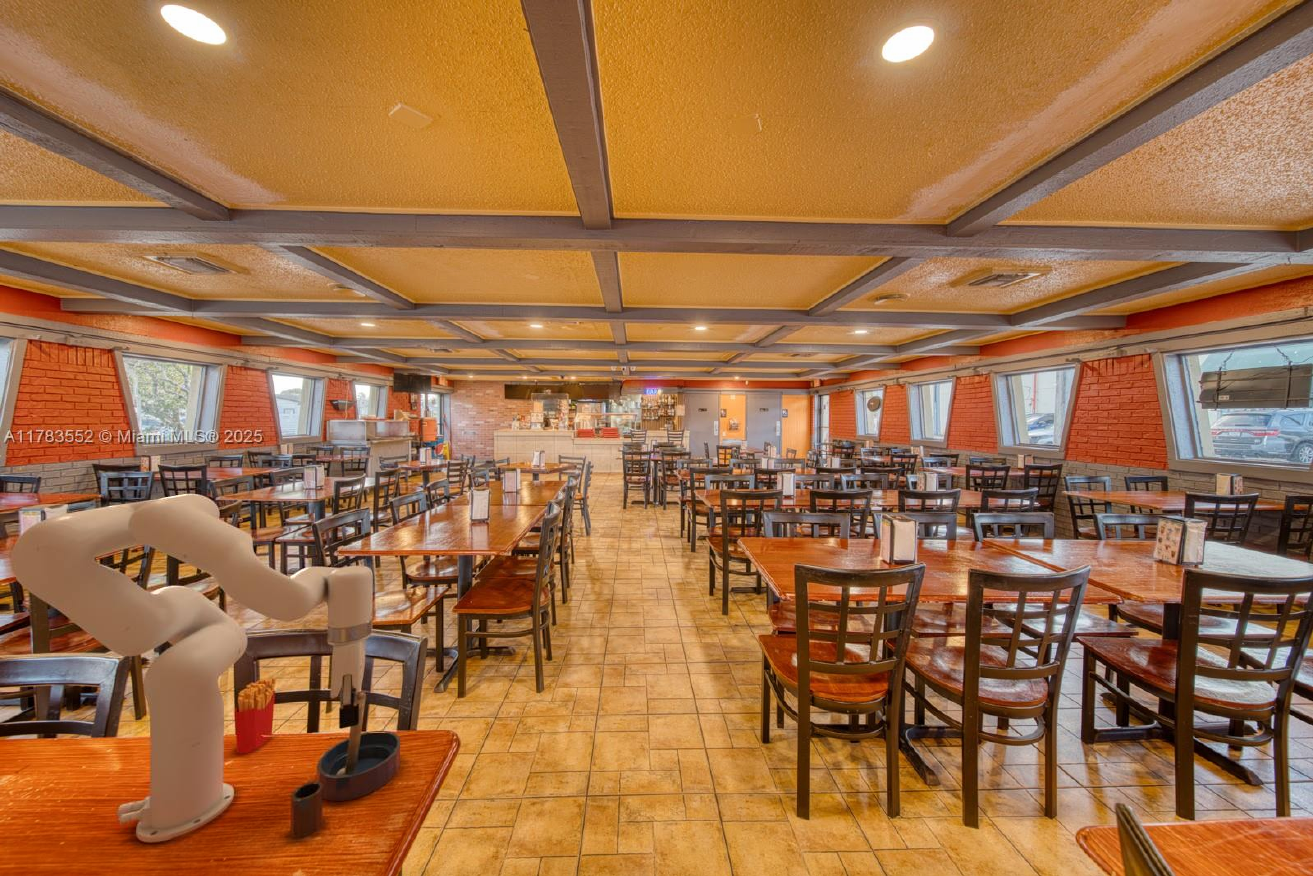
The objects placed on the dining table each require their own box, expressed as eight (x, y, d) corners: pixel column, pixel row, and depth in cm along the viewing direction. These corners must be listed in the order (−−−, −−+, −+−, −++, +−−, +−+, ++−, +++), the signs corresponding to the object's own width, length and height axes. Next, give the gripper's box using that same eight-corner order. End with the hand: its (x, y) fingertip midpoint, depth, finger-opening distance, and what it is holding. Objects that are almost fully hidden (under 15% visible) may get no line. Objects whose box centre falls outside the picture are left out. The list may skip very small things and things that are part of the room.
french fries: (248, 756, 101) (249, 696, 101) (228, 756, 101) (229, 696, 101) (280, 730, 110) (281, 674, 110) (262, 730, 110) (262, 674, 110)
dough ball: (344, 776, 95) (335, 784, 93) (341, 767, 95) (332, 774, 93) (352, 775, 94) (342, 782, 92) (348, 765, 94) (339, 772, 92)
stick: (344, 778, 92) (354, 695, 93) (344, 772, 94) (354, 690, 95) (356, 775, 93) (366, 693, 94) (356, 769, 95) (366, 688, 96)
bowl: (310, 814, 85) (310, 787, 86) (323, 766, 98) (324, 742, 98) (399, 788, 92) (399, 763, 92) (401, 746, 105) (401, 724, 105)
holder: (288, 845, 79) (288, 803, 79) (294, 826, 83) (294, 786, 83) (319, 835, 81) (320, 794, 81) (324, 817, 85) (324, 778, 85)
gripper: (333, 619, 99) (332, 707, 99) (320, 650, 85) (320, 752, 85) (374, 613, 102) (374, 698, 102) (369, 642, 88) (368, 739, 88)
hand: (349, 721), depth 93 cm, fingers closed on stick, 2 cm apart
